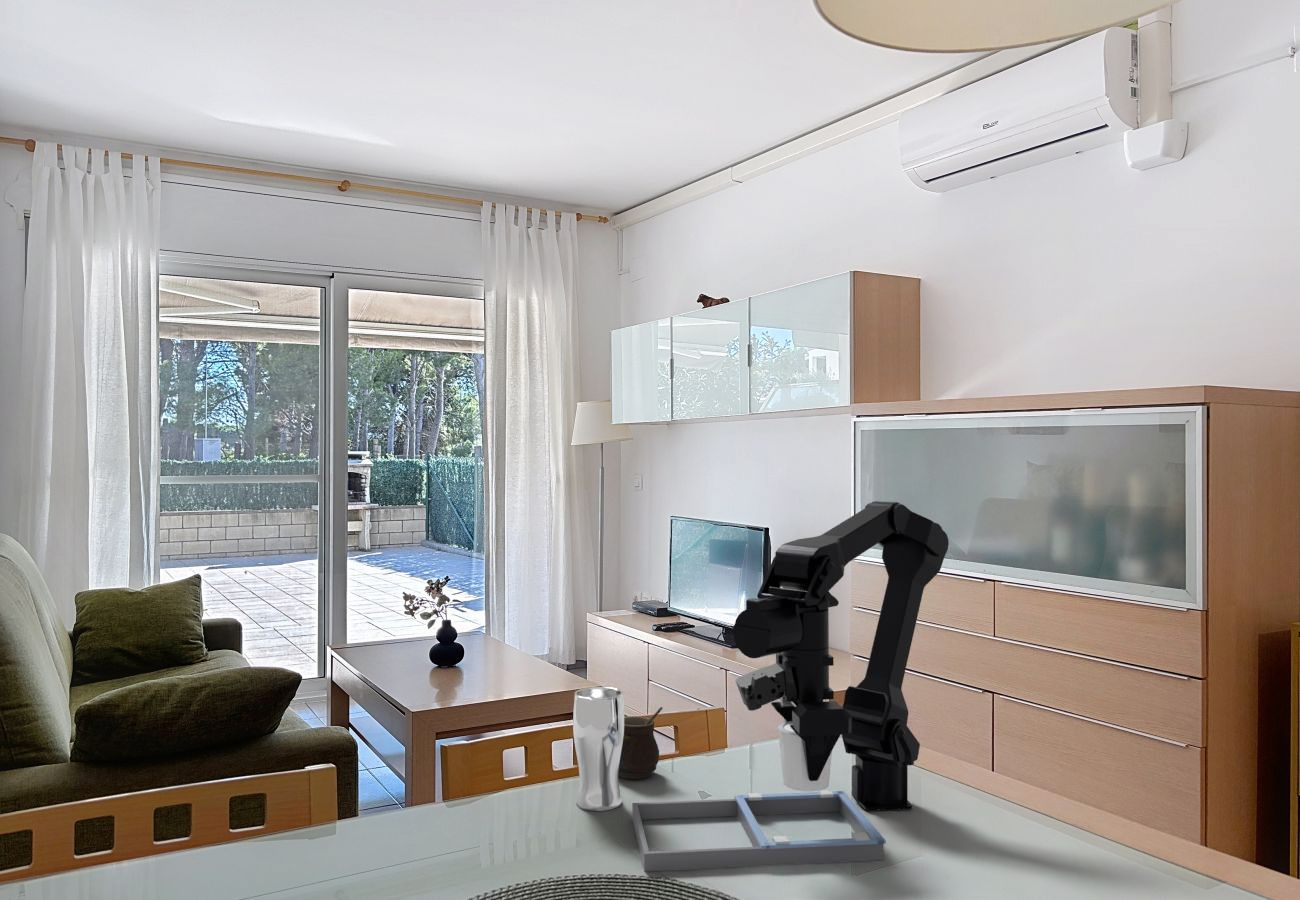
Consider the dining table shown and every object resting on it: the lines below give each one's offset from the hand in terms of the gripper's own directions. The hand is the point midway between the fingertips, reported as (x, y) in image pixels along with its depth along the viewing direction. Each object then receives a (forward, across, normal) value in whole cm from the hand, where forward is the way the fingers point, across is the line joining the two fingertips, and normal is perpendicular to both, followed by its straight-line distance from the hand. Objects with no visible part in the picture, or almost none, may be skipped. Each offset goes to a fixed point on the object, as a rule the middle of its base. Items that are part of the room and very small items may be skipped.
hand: (806, 771), depth 122 cm
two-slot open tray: (+8, 0, -7) cm, 11 cm away
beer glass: (+8, -14, -25) cm, 30 cm away
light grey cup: (+2, 0, 0) cm, 2 cm away
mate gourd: (+8, -25, -19) cm, 32 cm away
